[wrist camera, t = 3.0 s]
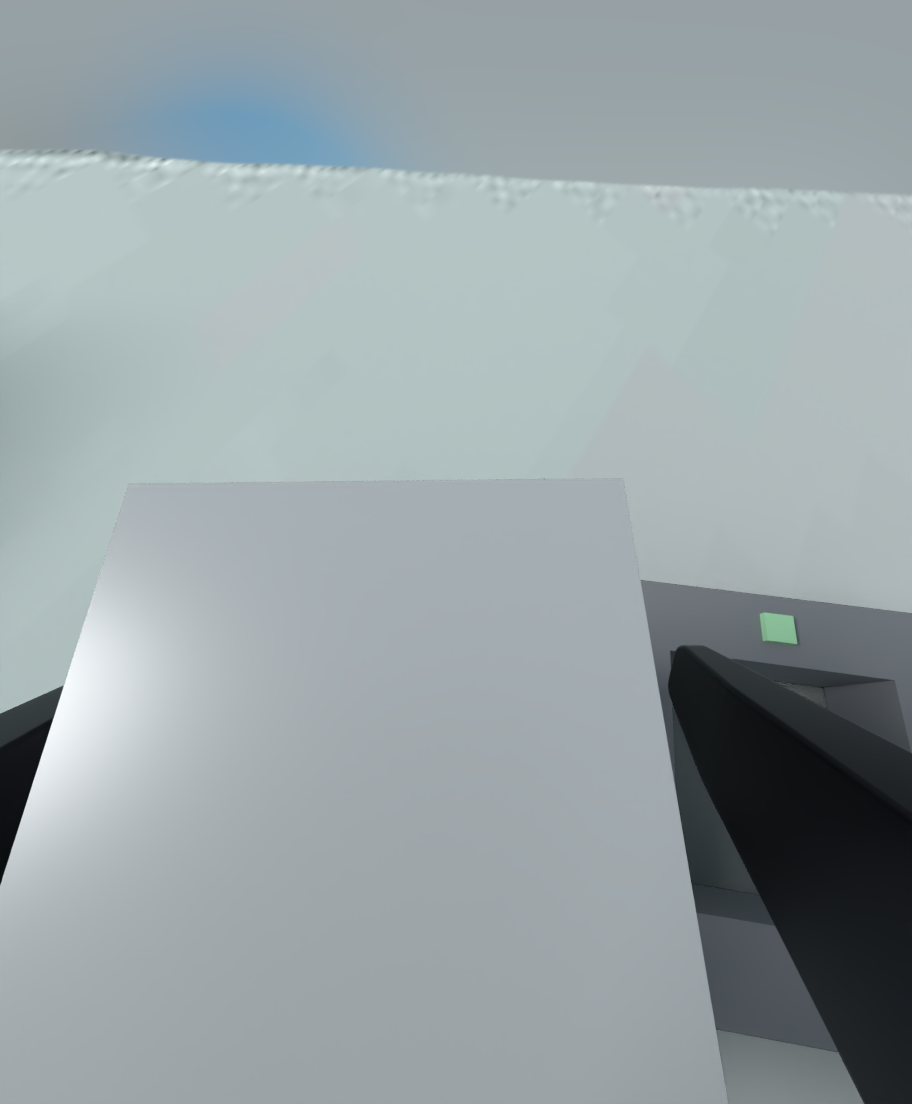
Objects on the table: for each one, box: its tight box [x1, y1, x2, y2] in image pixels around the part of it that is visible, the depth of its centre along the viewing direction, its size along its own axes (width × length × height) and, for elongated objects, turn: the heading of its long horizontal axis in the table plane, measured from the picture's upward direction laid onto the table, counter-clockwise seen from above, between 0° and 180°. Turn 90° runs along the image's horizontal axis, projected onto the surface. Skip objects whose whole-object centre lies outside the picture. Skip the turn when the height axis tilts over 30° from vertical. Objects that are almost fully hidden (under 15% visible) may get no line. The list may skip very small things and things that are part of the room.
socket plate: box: [640, 580, 912, 1052], centre depth 12 cm, size 10×20×3 cm, turn 82°
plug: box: [0, 478, 728, 1104], centre depth 8 cm, size 5×4×12 cm
